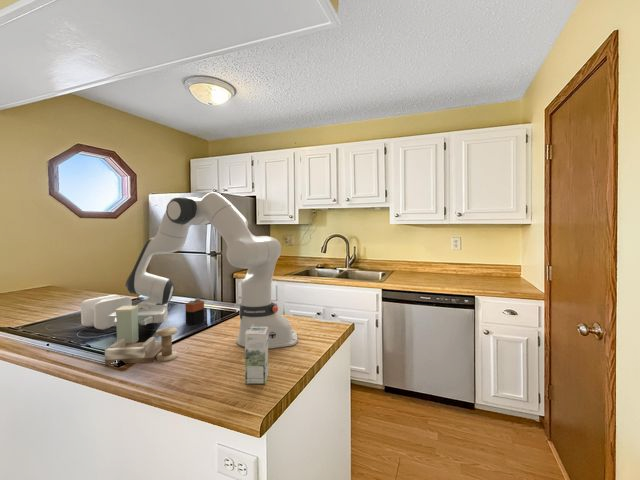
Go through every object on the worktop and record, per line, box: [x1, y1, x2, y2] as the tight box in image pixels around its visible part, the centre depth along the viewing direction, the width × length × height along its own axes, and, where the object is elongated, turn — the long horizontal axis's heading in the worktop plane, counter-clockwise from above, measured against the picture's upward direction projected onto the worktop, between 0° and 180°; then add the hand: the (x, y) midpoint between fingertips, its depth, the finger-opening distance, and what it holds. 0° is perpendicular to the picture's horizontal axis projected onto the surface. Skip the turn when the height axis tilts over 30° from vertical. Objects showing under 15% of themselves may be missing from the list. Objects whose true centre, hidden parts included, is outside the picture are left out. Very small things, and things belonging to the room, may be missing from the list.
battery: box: [185, 298, 205, 326], centre depth 134 cm, size 4×7×10 cm, turn 155°
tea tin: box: [116, 304, 139, 343], centre depth 111 cm, size 5×5×13 cm
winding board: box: [104, 336, 162, 366], centre depth 102 cm, size 14×13×4 cm
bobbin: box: [155, 326, 178, 362], centre depth 100 cm, size 6×6×9 cm
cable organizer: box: [80, 294, 133, 331], centre depth 130 cm, size 15×11×12 cm
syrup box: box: [244, 327, 269, 385], centre depth 86 cm, size 6×6×14 cm
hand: (129, 323), depth 112 cm, fingers open, 8 cm apart
